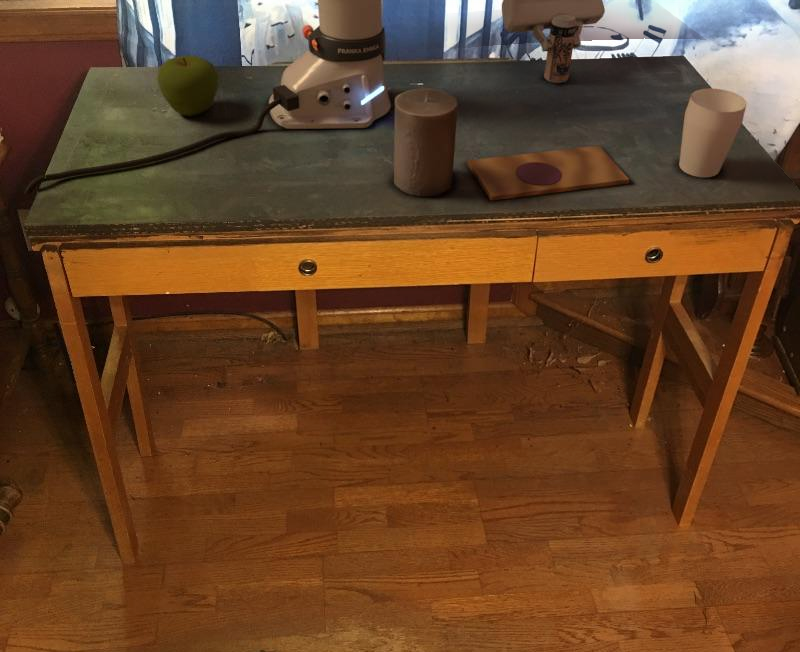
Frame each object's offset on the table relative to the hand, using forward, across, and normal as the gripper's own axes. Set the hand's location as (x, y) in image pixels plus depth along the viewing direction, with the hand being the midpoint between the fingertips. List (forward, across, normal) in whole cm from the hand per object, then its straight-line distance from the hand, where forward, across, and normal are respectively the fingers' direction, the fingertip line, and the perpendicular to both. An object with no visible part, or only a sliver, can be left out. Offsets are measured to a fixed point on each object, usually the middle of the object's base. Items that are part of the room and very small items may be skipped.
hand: (561, 48), depth 166 cm
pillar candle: (+26, +39, +16) cm, 50 cm away
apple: (0, +71, -9) cm, 71 cm away
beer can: (+4, 0, -5) cm, 7 cm away
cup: (+32, -7, +23) cm, 40 cm away
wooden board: (+28, +18, +19) cm, 38 cm away
